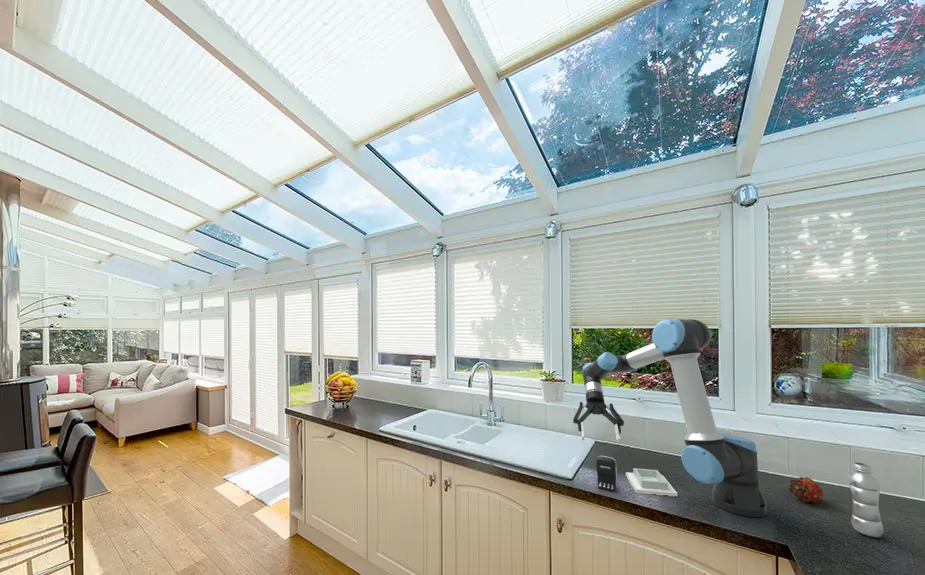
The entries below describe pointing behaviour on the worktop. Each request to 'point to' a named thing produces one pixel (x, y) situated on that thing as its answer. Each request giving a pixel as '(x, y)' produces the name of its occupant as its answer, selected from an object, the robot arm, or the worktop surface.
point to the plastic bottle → (865, 501)
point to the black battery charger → (606, 473)
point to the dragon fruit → (806, 489)
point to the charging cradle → (650, 482)
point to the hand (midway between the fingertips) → (600, 439)
